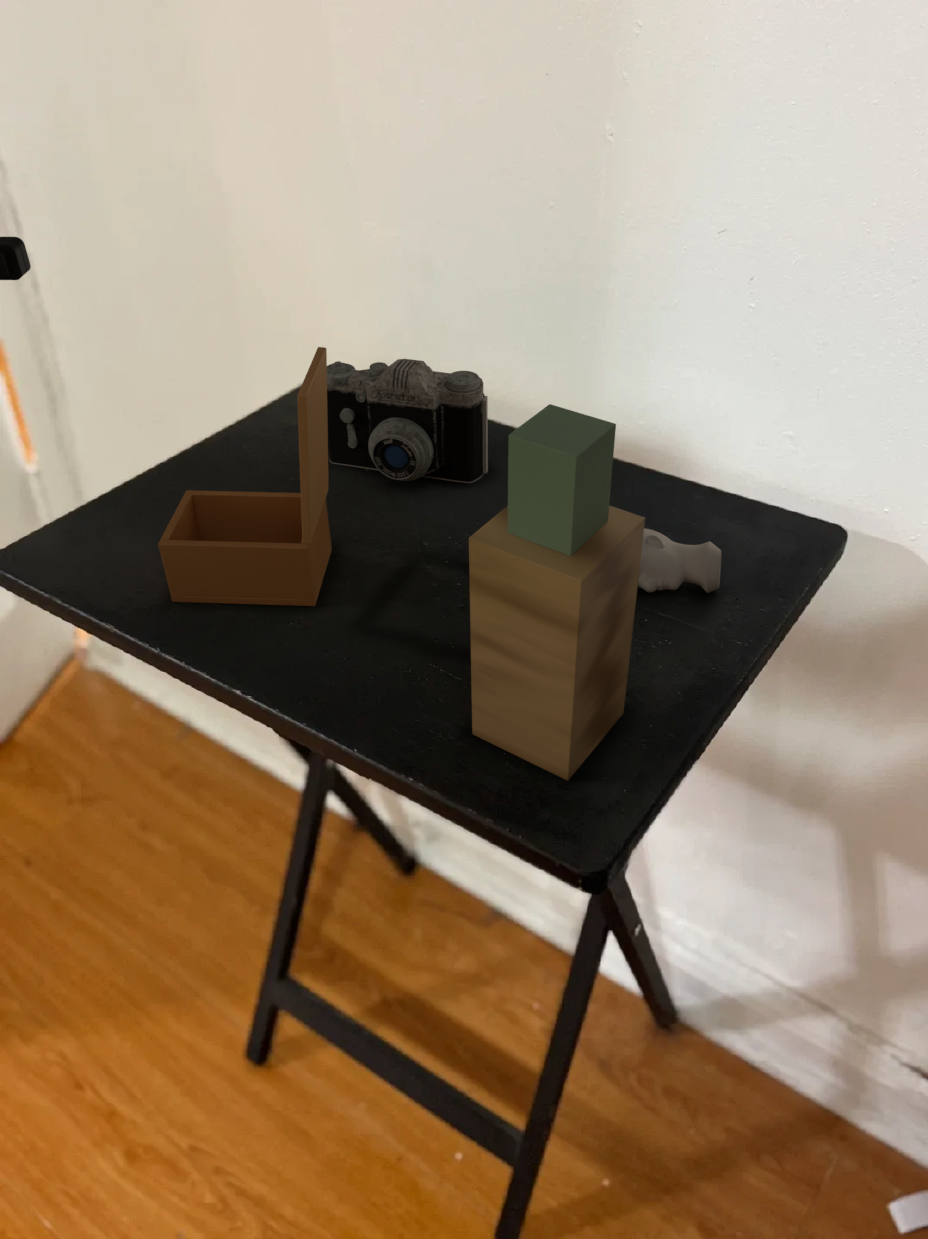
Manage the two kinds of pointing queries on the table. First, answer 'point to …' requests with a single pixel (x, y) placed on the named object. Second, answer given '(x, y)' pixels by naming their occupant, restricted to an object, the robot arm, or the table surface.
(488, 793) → the table surface
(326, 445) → the case lid
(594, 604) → the post
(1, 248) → the robot arm
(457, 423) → the camera
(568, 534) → the block
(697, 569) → the pale two-lobed sculpture
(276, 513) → the case
